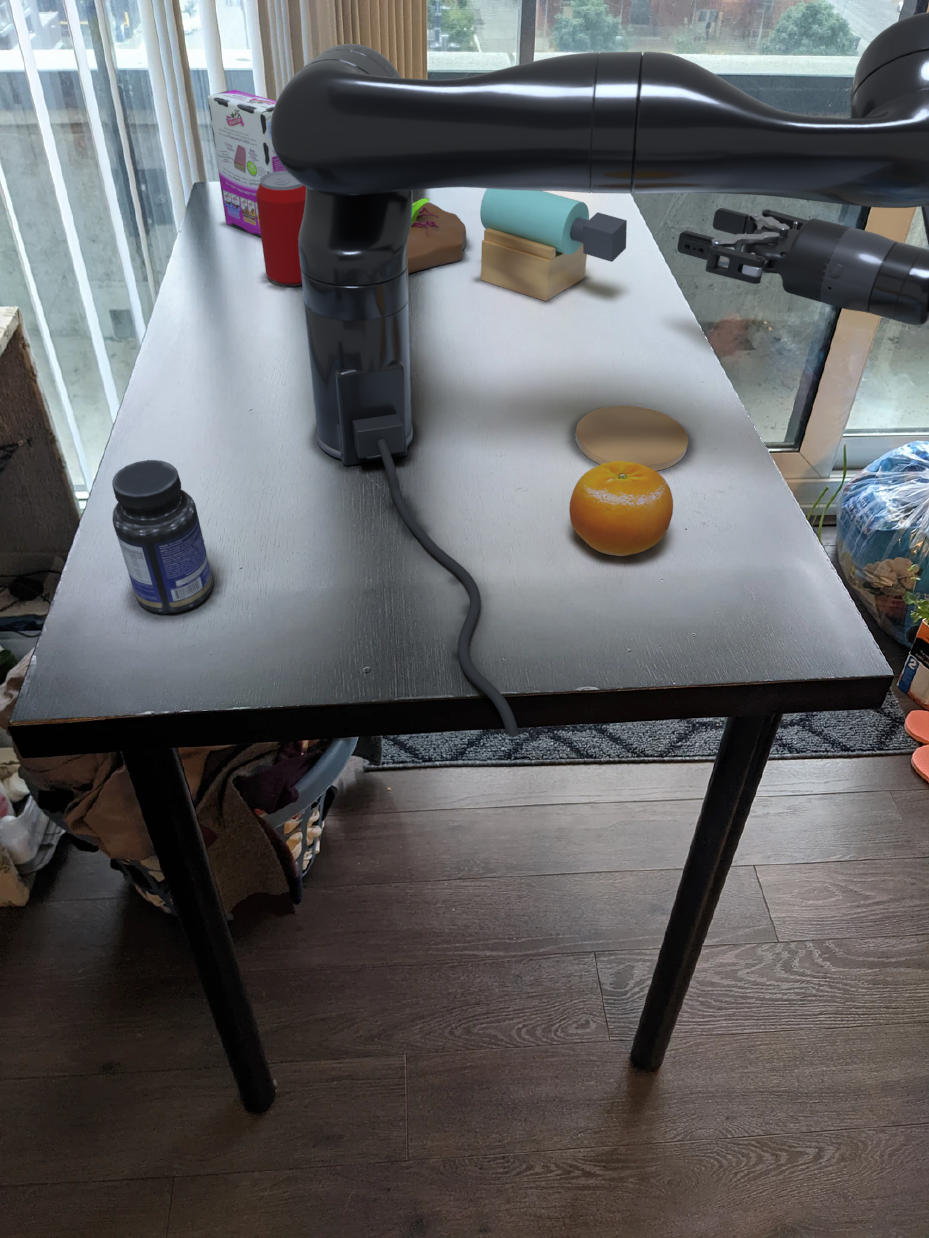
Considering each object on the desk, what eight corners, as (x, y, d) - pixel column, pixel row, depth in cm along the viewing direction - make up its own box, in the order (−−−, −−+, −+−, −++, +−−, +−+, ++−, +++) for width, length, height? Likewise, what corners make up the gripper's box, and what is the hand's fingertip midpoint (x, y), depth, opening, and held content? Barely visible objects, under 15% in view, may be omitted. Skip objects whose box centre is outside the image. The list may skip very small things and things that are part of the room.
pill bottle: (215, 564, 79) (191, 451, 71) (212, 613, 74) (186, 498, 67) (139, 570, 78) (107, 456, 71) (131, 620, 74) (96, 505, 66)
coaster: (707, 462, 91) (708, 455, 91) (602, 480, 89) (603, 473, 88) (656, 405, 99) (657, 398, 98) (558, 421, 96) (559, 414, 96)
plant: (489, 262, 125) (492, 173, 117) (347, 284, 119) (340, 191, 112) (434, 210, 138) (433, 127, 131) (303, 227, 133) (295, 141, 125)
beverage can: (325, 268, 123) (317, 170, 115) (313, 290, 118) (304, 190, 110) (273, 265, 123) (262, 168, 115) (260, 287, 118) (247, 187, 110)
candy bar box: (304, 235, 131) (292, 104, 120) (277, 245, 128) (261, 112, 117) (251, 214, 136) (235, 87, 125) (224, 224, 133) (204, 94, 122)
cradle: (584, 278, 122) (589, 229, 118) (545, 301, 117) (549, 251, 112) (520, 258, 126) (523, 210, 122) (480, 280, 121) (481, 231, 117)
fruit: (623, 458, 85) (627, 421, 77) (689, 526, 83) (699, 495, 75) (551, 518, 85) (548, 487, 77) (615, 588, 83) (619, 563, 75)
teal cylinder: (632, 251, 114) (633, 204, 109) (605, 277, 112) (606, 230, 107) (509, 215, 122) (506, 170, 117) (482, 239, 119) (477, 194, 115)
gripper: (803, 325, 96) (661, 283, 103) (854, 279, 104) (720, 243, 111) (823, 251, 91) (672, 212, 98) (875, 209, 99) (733, 176, 106)
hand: (698, 229), depth 105 cm, fingers open, 8 cm apart
